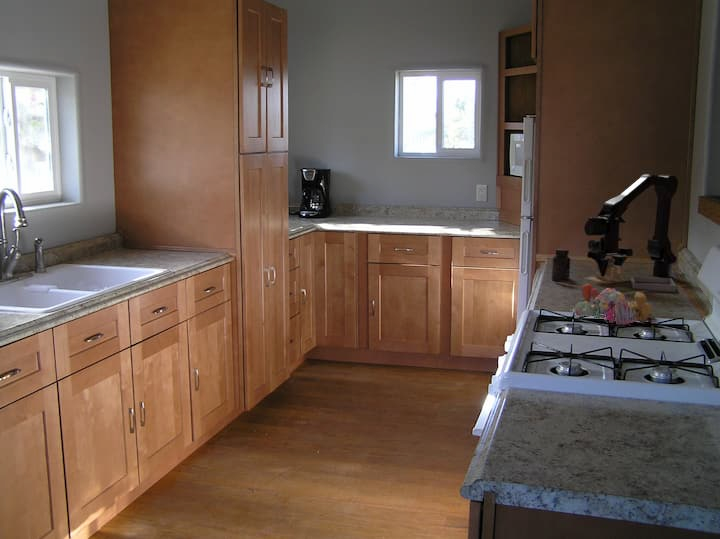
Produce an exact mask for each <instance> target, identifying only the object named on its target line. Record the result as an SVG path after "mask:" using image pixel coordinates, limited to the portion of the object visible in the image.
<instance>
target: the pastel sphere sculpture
mask: <svg viewBox="0 0 720 539" xmlns="http://www.w3.org/2000/svg"><path fill="white" fill-rule="evenodd" d="M581 294H582V297H583V301H580V302H579V301H578V302H576V304H575V305H574V308H573V309H572V310H570V312H571V311H573V312H575V314H576V315H577V316H578V315H579V316H586V317H588V316H592V315H594V318H598V319H600V317H601V318H605V317H606V316H605V315H600V314H607V319H604V320H605V321H606V320H609V321H610V322H611V323H613V322H614V321H615V320H616V324H615V325H618V326H621V325H623V326H625V325H630V324H629V323H633V322H636V321H641V322H646V321H648V320H649V319H648V320H647V318H651V319H654V318H655V317H656V315H654V314H653V308H652V305H651V304H649V303H648V302H647V295H646V294H645V293H644V292H641V291H636V292H635V294H634V297H633V299H634V300H632V301H628V300H626V297H625V296H626V295H624V294H623V293H622V292H620V291H617V290H616V288H611V287H607V288H605V289H603V290H602V291H601V292H600V291H599V289H597V288H595V286H594V285H592V284H591V283H585V284H583V285H582V287H581ZM591 299H593V304H591V303H590V302H591ZM599 313H600V314H599ZM595 314H596V315H595ZM613 314H614V316H613ZM614 318H616V319H614ZM631 318H632V319H631Z"/></svg>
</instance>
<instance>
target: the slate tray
mask: <svg viewBox="0 0 720 539" xmlns="http://www.w3.org/2000/svg"><path fill="white" fill-rule="evenodd" d="M636 282H637V283H636ZM638 282H639V283H638ZM640 282H641V283H640ZM630 283H631V285H632V289H638V290H637V292H641V291H642V292H657V293H659V292H660V293H661V292H662V293H676V290H677V289H676V288H677V285H676V283H675V282H674V280H673V278H660V277H653V276H652V277H650V276H649V277H648V276H630ZM654 283H655V284H654Z"/></svg>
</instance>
